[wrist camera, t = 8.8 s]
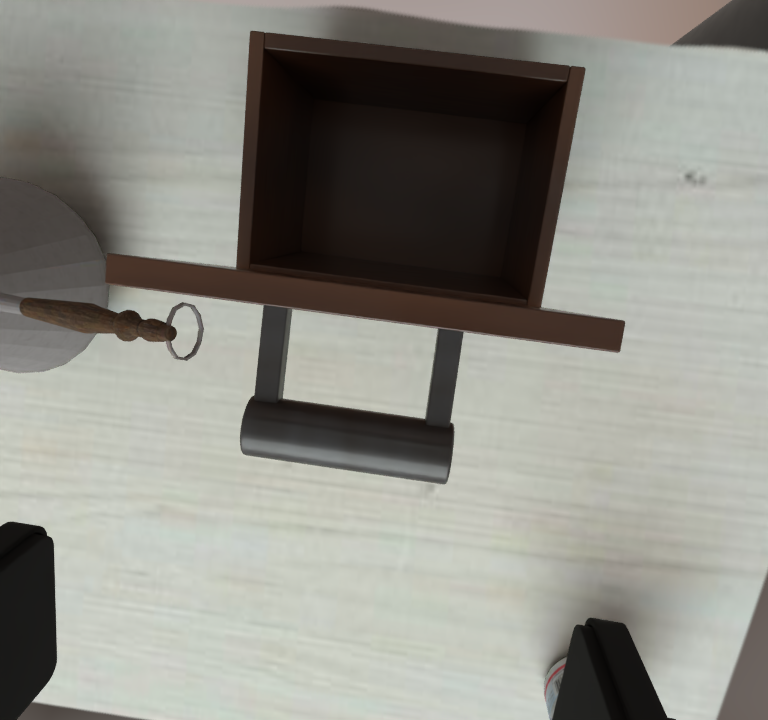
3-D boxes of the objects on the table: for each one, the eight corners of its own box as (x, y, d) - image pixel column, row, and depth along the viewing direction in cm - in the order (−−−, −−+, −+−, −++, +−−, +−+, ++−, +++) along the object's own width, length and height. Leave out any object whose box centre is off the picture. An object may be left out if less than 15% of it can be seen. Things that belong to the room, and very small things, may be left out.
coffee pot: (-32, 355, 39) (-310, 436, 24) (-53, 175, 36) (-380, 145, 22) (282, 379, 37) (187, 480, 23) (285, 194, 35) (180, 175, 20)
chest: (306, 88, 33) (249, 30, 23) (537, 115, 33) (586, 67, 22) (292, 259, 36) (235, 275, 25) (508, 287, 35) (539, 315, 25)
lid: (105, 252, 15) (92, 455, 16) (626, 321, 14) (588, 529, 15) (232, 266, 25) (220, 390, 25) (542, 307, 24) (522, 433, 25)
